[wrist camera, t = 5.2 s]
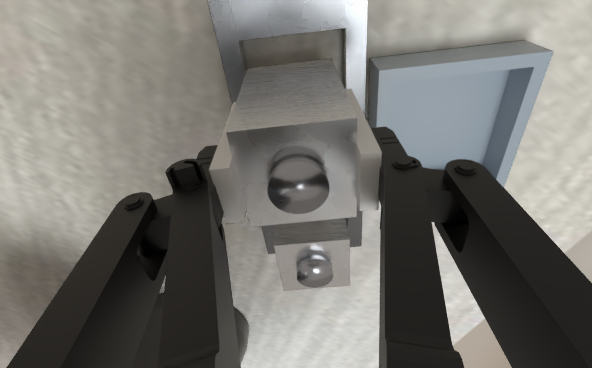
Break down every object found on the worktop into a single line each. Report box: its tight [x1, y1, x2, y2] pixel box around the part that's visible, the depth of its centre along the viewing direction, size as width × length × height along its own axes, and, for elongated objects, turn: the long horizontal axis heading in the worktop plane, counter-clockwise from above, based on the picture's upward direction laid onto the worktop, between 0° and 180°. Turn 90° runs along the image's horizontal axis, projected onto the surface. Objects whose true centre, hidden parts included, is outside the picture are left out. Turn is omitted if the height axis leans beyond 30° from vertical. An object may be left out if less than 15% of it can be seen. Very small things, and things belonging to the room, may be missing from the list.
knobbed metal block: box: [226, 59, 357, 227], centre depth 16 cm, size 5×5×9 cm
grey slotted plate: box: [207, 0, 368, 254], centre depth 24 cm, size 22×9×1 cm, turn 6°
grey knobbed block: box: [274, 218, 350, 291], centre depth 24 cm, size 5×5×9 cm
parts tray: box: [368, 40, 553, 187], centre depth 22 cm, size 10×10×3 cm
